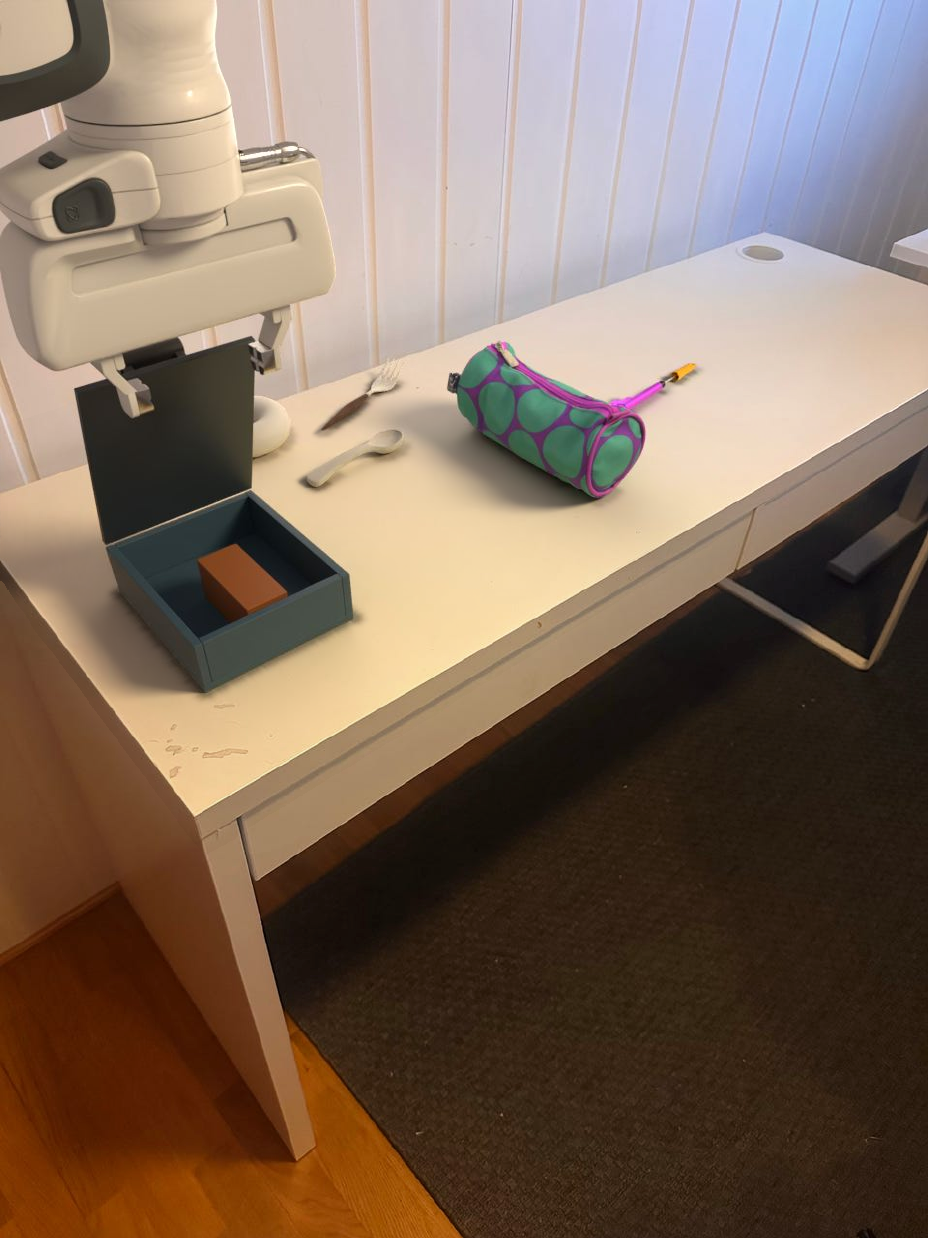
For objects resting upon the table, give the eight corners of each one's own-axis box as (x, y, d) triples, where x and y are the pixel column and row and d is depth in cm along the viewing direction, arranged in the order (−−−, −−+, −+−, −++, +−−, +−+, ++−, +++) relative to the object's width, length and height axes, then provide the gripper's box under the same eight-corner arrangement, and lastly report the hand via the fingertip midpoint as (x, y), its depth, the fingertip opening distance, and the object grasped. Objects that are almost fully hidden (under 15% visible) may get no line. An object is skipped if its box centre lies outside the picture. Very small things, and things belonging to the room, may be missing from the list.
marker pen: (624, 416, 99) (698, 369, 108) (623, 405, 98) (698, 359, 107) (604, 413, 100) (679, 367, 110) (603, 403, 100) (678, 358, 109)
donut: (236, 477, 89) (312, 438, 95) (230, 447, 87) (308, 409, 92) (178, 442, 94) (253, 407, 100) (170, 413, 92) (248, 379, 97)
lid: (255, 340, 66) (225, 304, 67) (77, 393, 59) (47, 352, 61) (252, 488, 79) (226, 455, 80) (105, 545, 72) (80, 508, 74)
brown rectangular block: (293, 630, 71) (287, 591, 68) (254, 649, 69) (246, 610, 67) (243, 581, 76) (235, 543, 73) (205, 597, 74) (196, 559, 71)
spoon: (411, 446, 94) (409, 430, 92) (321, 497, 88) (318, 480, 86) (392, 436, 95) (390, 419, 94) (303, 485, 89) (299, 468, 88)
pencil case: (446, 430, 97) (445, 345, 90) (507, 405, 101) (511, 323, 94) (582, 517, 85) (593, 426, 78) (645, 485, 89) (660, 396, 82)
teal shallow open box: (353, 618, 73) (349, 573, 70) (205, 693, 67) (193, 647, 64) (258, 532, 82) (250, 489, 79) (119, 591, 76) (105, 546, 72)
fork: (312, 431, 96) (310, 414, 95) (388, 372, 107) (387, 356, 105) (332, 437, 95) (330, 420, 94) (407, 377, 106) (406, 361, 105)
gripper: (289, 125, 57) (312, 332, 66) (-44, 184, 47) (37, 418, 56) (345, 145, 54) (361, 362, 63) (-3, 214, 44) (76, 459, 53)
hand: (205, 390), depth 60 cm, fingers open, 8 cm apart
